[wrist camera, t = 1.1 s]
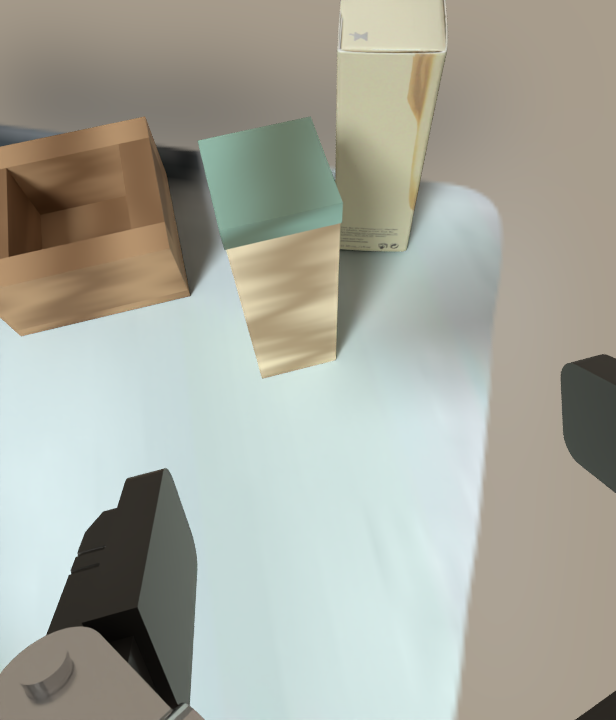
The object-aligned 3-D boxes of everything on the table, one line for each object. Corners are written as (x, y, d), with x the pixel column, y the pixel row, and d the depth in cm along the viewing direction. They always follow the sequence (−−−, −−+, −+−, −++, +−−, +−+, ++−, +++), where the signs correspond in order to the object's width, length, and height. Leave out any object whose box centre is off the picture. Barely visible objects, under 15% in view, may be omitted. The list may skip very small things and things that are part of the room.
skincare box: (407, 255, 31) (451, 57, 20) (332, 252, 31) (334, 55, 20) (407, 171, 34) (445, -44, 23) (338, 169, 34) (342, -44, 23)
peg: (261, 379, 28) (218, 230, 17) (245, 314, 30) (197, 140, 19) (336, 360, 28) (342, 202, 17) (316, 296, 30) (310, 116, 19)
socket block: (20, 336, 30) (-27, 293, 26) (16, 206, 34) (-26, 152, 30) (190, 295, 30) (169, 248, 26) (166, 174, 34) (145, 116, 30)
